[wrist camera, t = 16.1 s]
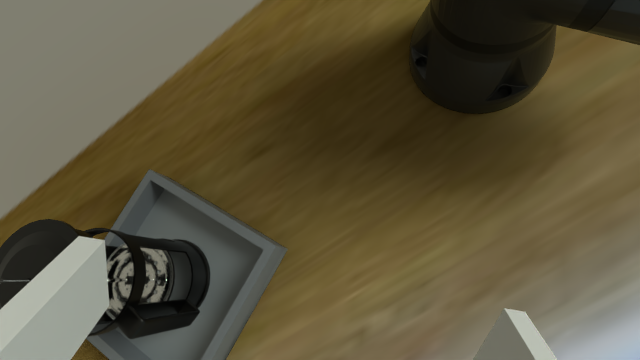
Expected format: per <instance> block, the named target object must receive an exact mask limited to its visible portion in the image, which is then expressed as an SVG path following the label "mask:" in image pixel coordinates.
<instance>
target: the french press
mask: <svg viewBox="0 0 640 360" xmlns="http://www.w3.org/2000/svg"><path fill="white" fill-rule="evenodd" d="M103 232H111V233H114V234H116V235H117V236H118V237H120V238H121V239H122V240H123V241H124V243H123V244H122V245H121V246H119V247H115V246H107V245H105V250H106V264H107V279H108V294H109V307H108V308H107V309H106V311H105V312H104V314H103V315H102V316H101V318H100V319H99V321H98V322H97V323H96V325H100V324H106V323H110V324H108V325H107V326H106V327H104V328H103V329H101V330H99V331H97V332H90V333H89V335H88V336H87V337H89V336H95V335H100V334H104V333H108V332H110V331H112V330H114V329H116V328H117V327H119V328H120V330H121V331H122V332H123V333H124V334H125V335H126V336H127V337H128V338H129V339H135V338H140V337H144V336H148V335H153V334H157V333H162V332H166V331H170V330H175V329H179V328H183V327H188V326H190V325H191V324H192V322H193V321H194V320H195V318H196V317H197V316H198V315H199V313H200V310H199V309H198V308H199V307H200V306H201V304H202V303H203V301H204V299H205V297H206V295H207V293H208V289H209V285H210V267H209V263H208V260H207V258H206V256H205V254H204V253H203V251H202V250H201V249H200V248H199V247H198V246H196V245H195V244H194V243H192V242H189V241H187V240H181V239H172V240H170V239H164V238H161V239H154V238H148V237H141V236H135V235H129V234H126V233H124V232H121V231H117V230H111V229H105V228H93V229H89V230H86V231H81V230H77V229H75V228H73V227H72V226H71V225H69V224H67V223H65V222H63V221H58V220H52V219H45V220H38V221H35V222H32V223H29V224H27V225H25V226H23V227H22V228H20V229H19V230H17V231H16V232H15V233H14V234H12V235H11V236H10V237H9V238H8V239H7V240H6V241H5V242H4V243H3V245H2V246H1V248H0V309H1V308H2V307H3V306H5V305H6V304H7V303H8V302H9V301H10V300H11V299H12V298H13V297H14V296H15V295H16V294H17V293H18V292H20V291H21V290H22V289H23V288H24V287H25V286H26V285H27V284H28V283H29V282H30V281H31V280H32V279H33V278H34V277H36V276H37V275H38V274H39V273H40V272H41V271H42V270H43V269H44V268H45V267H46V266H47V265H48V264H49V263H51V262H52V261H53V260H54V259H55V258H56V257H57V256H58V255H59V254H60V253H61V252H62V251H63V250H64V249H66V248H67V247H68V246H69V245H70V244H71V243H72V242H73V241H74V240H75V239H76V238H77V237H78V236H82V237H88V238H93V236H94V235H97V234H100V233H103ZM168 251H173V252H182V253H185V254H186V255H187V257H188V259H189V262H190V266H191V273H192V277H191V285H190V289H189V292H188V295H187V297H186V299H179V300H169V299H170V297H171V294H172V291H173V287H174V282H175V269H174V263H173V260H172V257H171V255H170V253H169V252H168Z"/></svg>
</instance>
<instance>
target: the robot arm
mask: <svg viewBox="0 0 640 360" xmlns="http://www.w3.org/2000/svg"><path fill="white" fill-rule="evenodd" d="M557 25H559V26H563V27H568V28H572V29H577V30H581V31H584V32H585V31H586V32H589V33H593V34H597V35H601V36H605V37H609V38H613V39H617V40H621V41H625V42H629V43H633V44H637V45H640V0H430V2H429V4H428V6H427V7H426V9H425V11H424V12H423V14H422V16H421V18H420V19H419V21H418V23H417V25H416V27H415V29H414V31H413V34H412V38H411V42H410V55H409V63H410V69H411V73H412V76H413V78H414V80H415V82H416V84H417V85H418V87H419V88H420V89H421V91H422V92H423V93H424V94H425V95H426V96H427V97H429V98H430V99H431V100H433V101H434V102H436V103H437V104H439V105H441V106H443V107H446V108H448V109H451V110H454V111H458V112H464V113H488V112H493V111H497V110H501V109H504V108H507V107H509V106H511V105H513V104H515V103H517V102H519V101H520V100H522V99H523V98H524V97H526V96H527V95H528V94H529V93H530V92H531V91H532V90H533V89H534V88H535V87H536V85H537V84H538V83H539V81H540V80H541V78H542V77H543V76H544V74H545V73H546V71H547V69H548V67H549V65H550V63H551V60H552V57H553V53H554V47H555V37H556V26H557ZM108 307H109V294H108V279H107V264H106V250H105V240H100V239H94V238H88V237H82V236H78V237H77V238H76V239H75V240H74V241H73V242H72V243H71V244H70V245H69V246H68V247H67V248H66V249H64V250H63V251H62V252H61V253H60V254H59V255H58V256H57V257H56V258H55V259H54V260H53V261H52V262H51V263H49V264H48V265H47V266H46V267H45V268H44V269H43V270H42V271H41V272H40V273H39V274H38V275H37V276H36V277H34V278H33V279H32V280H31V281H30V282H29V283H28V284H27V285H26V286H25V287H24V288H23V289H22V290H21V291H20V292H18V293H17V294H16V295H15V296H14V297H13V298H12V299H11V300H10V301H9V302H8V303H7V304H6V305H5V306H3V307H2V308H1V309H0V360H71V358H72V357H73V356H74V354H75V353H76V351H77V350H78V349H79V347H80V346H81V344H82V343H83V342H84V340H85V339H86V337H87V336H88V335H89V333H90V332H91V330H92V329H93V328H94V326H95V325H96V323H97V322H98V321H99V319H100V318H101V316H102V315H103V314H104V312H105V311H106V309H107V308H108ZM473 360H557V359H556V357H555V356H554V354H553V353H552V351H551V350H550V348H549V347H548V345H547V344H546V342H545V341H544V339H543V338H542V336H541V335H540V333H539V332H538V330H537V329H536V327H535V326H534V324H533V323H532V321H531V320H530V318H529V317H528V315H527V314H526V312H523V311H517V310H511V309H505V308H504V310H503V311H502V313H501V315H500V316H499V318H498V319H497V321H496V323H495V324H494V326H493V328H492V329H491V331H490V333H489V334H488V336H487V338H486V339H485V341H484V343H483V344H482V346H481V347H480V349H479V351H478V352H477V354H476V356H475V357H474V359H473Z"/></svg>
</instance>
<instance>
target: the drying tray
mask: <svg viewBox="0 0 640 360" xmlns="http://www.w3.org/2000/svg"><path fill="white" fill-rule="evenodd" d="M111 230H117V231H121V232H124V233H126V234H129V235H135V236H141V237H148V238H154V239H161V238H164V239H170V240H172V239H181V240H187V241H189V242H192V243H194V244H195V245H196V246H198V247H199V248H200V249H201V250H202V251H203V253H204V254H205V256H206V258H207V260H208V263H209V267H210V285H209V289H208V293H207V295H206V297H205V299H204V301H203V303H202V304H201V306H200V307H199V308H198V309H199V310H200V313H199V315H198V316H197V317H196V318H195V320H194V321H193V322H192V324H191V325H190V326H188V327H183V328H179V329H175V330H170V331H166V332H162V333H157V334H153V335H148V336H144V337H140V338H135V339H129V338H128V337H127V336H126V335H125V334H124V333H123V332H122V331H121V330H120V328H119V327H117V328H116V329H114V330H112V331H110V332H108V333H104V334H100V335H95V336H89V337H86V339H87V340H88V341H89V342H91V343H92V344H93V345H94V346H95V347H96V348H97V349H98V350H99V351H101V352H102V353H103V354H104V355H105V356H106V357H107V358H108V359H110V360H226V358H227V356H228V355H229V353H230V351H231V349H232V347H233V346H234V344H235V342H236V340H237V339H238V337H239V335H240V333H241V331H242V330H243V328H244V326H245V324H246V323H247V321H248V319H249V317H250V315H251V314H252V312H253V310H254V308H255V307H256V305H257V303H258V301H259V299H260V298H261V296H262V294H263V292H264V291H265V289H266V287H267V285H268V283H269V282H270V280H271V278H272V276H273V275H274V273H275V271H276V269H277V267H278V266H279V264H280V262H281V260H282V259H283V257H284V255H285V253H286V251H287V250H288V249H287V248H285V247H283V246H282V245H280V244H279V243H277V242H275V241H274V240H272V239H270V238H269V237H267V236H265V235H264V234H262V233H260V232H259V231H257V230H255V229H254V228H252V227H250V226H249V225H247V224H245V223H244V222H242V221H240V220H239V219H237V218H235V217H234V216H232V215H230V214H229V213H227V212H225V211H224V210H222V209H220V208H219V207H217V206H215V205H214V204H212V203H210V202H209V201H207V200H205V199H204V198H202V197H200V196H199V195H197V194H195V193H194V192H192V191H190V190H189V189H187V188H185V187H184V186H182V185H180V184H179V183H177V182H176V181H174V180H172V179H171V178H169V177H166V176H164V175H162V174H159V173H157V172H155V171H152V170H150V169H149V170H148V172H147V173H146V175H145V177H144V178H143V180H142V181H141V183H140V184H139V186H138V187H137V189H136V191H135V192H134V194H133V195H132V197H131V198H130V200H129V201H128V203H127V205H126V206H125V208H124V209H123V211H122V212H121V214H120V215H119V217H118V219H117V220H116V222H115V223H114V225H113V226H112V228H111ZM104 240H105V245H107V246H115V247H119V246H121V245H122V244H123V243H124V241H123V240H122V239H121V238H120V237H118V236H117V235H116V234H114V233H111V232H109V233H108V234H107V236H106V237H105V239H104ZM168 252H169V253H170V255H171V257H172V260H173V263H174V269H175V282H174V287H173V291H172V294H171V297H170V299H169V300H179V299H186V297H187V295H188V292H189V289H190V285H191V277H192V273H191V266H190V262H189V259H188V257H187V255H186V254H185V253H182V252H173V251H168ZM108 324H110V323H106V324H100V325H95V326H94V328H93V329H92V330H91V332H97V331H99V330H101V329H103V328H104V327H106V326H107V325H108Z"/></svg>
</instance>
